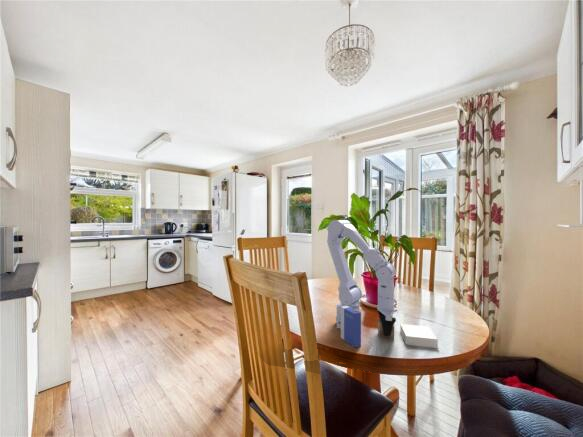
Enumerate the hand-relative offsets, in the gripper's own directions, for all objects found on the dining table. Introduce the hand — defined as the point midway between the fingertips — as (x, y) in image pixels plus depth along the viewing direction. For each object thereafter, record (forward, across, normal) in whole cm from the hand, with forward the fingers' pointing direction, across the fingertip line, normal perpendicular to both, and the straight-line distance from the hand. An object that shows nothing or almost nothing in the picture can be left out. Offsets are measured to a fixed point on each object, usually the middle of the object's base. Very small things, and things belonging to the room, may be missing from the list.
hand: (385, 332), depth 92 cm
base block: (+1, 0, -11) cm, 11 cm away
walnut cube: (+1, 0, 0) cm, 1 cm away
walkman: (+2, -8, +13) cm, 15 cm away
